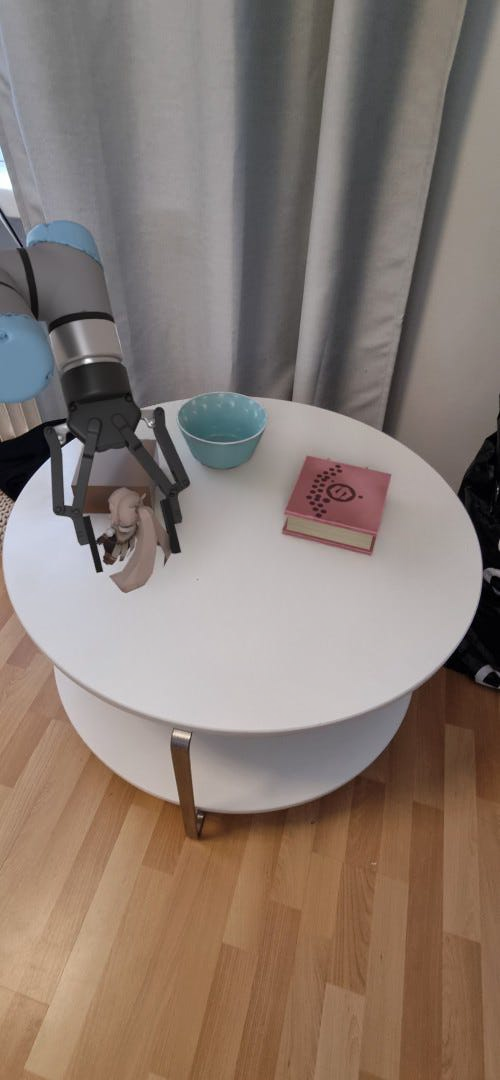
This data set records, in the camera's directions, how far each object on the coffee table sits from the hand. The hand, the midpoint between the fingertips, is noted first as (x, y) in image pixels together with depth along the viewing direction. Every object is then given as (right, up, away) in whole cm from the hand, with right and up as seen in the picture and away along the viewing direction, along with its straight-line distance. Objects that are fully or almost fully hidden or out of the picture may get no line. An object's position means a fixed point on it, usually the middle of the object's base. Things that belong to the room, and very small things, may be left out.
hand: (138, 562), depth 68 cm
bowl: (+8, +18, +38) cm, 43 cm away
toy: (-1, -1, +6) cm, 6 cm away
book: (+27, +7, +28) cm, 40 cm away
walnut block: (-9, +11, +30) cm, 34 cm away
